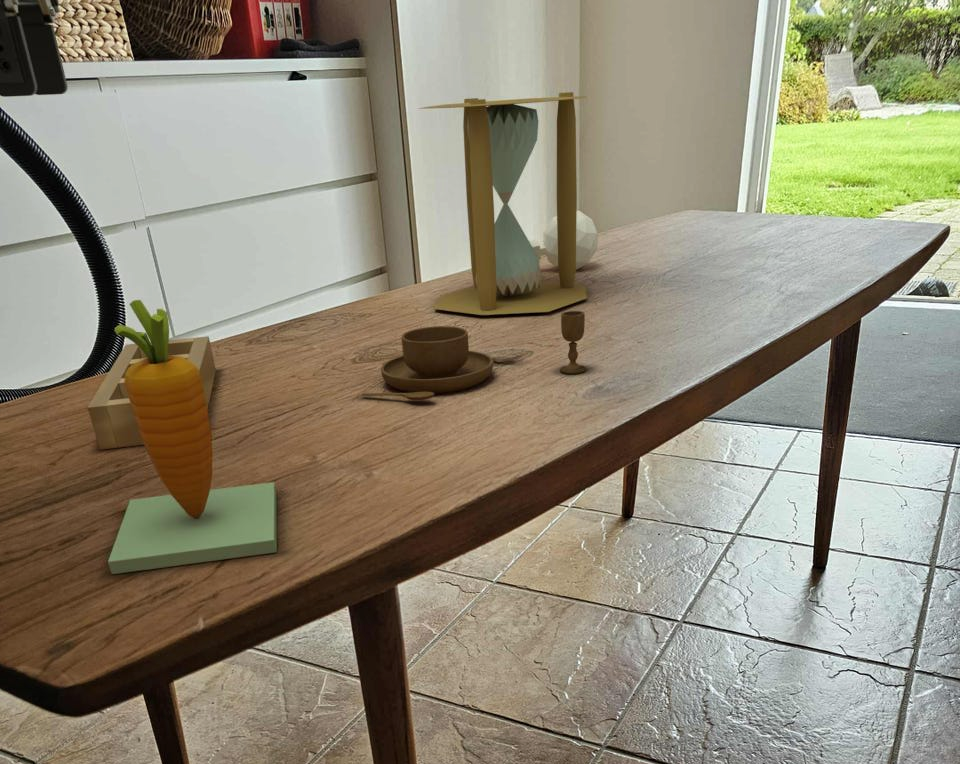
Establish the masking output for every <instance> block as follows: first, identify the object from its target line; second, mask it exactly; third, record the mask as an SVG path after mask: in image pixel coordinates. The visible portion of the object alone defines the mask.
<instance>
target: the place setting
mask: <svg viewBox="0 0 960 764" xmlns="http://www.w3.org/2000/svg"><path fill="white" fill-rule="evenodd" d="M585 315H586V314H585V311H581V310H568V311H563V312H561V314H560V329H561V335H562V338H563V339H564V340H565V341H567V342H569V343H568V347H569V350H568V353H567V358H568V360H569V363H568V364H567V365H563V366H561V367H559V372H560V373H561V374H567V375H578V374H582V373H585V372H586V371H587V368H586V366H584V365H581V364H578V363H577V360H578V357H579V352H578V351H577V346H578V343H577V342H578V341H580V340H582V339H583V337H584V334H585V325H586V323H585V322H586V321H585V320H586V317H585ZM400 338H401V346H402V355H400V356H396V357H393V358H390V359H389V360H387V361H385V362H384V363H383V364H382V365H381V367H380V373H381V376H382V379H383V380H384V382H385V383H386V384H388V385H389V386H391V387H392V388H395V389H397V390H400V391H403V392H365V393H362V394H361V393H360V394H361V396H364V397H365V396H366V397H367V396H368V397H373V396H374V397H378V396H379V397H380V396H381V397H382V396H394V397H395V396H397V397H398V396H399V397H404V398H406V399H407V400H410V401H425V400H430V399H431V398H433V397H434V396H435V394H445V393H453V392H457V391H464V390H466V389H470V388H472V387H474V386H477V385H478V384H480V383H481V382H484V381H485V380H486V379H487V378H488V377H489V376H490V375H491V373H492V371H493V368H494V361H495V362H496V363H507V362H510V361H514V360H517V359H519V358H521V357H523V354H520V355H515V356H511V357H507V358H497V357H493V356H490V355H489V354H487V353H483V352H480V351H474V350H470V349H469V346H470V345H469V331H468V330H467V329H465V328H464V327H459V326H451V325H438V326H437V325H434V326H426V327H419V328H415V329H411V330H408V331H406V332H404V333H403V334H402V335H401V336H400Z"/></svg>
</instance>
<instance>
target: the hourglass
mask: <svg viewBox="0 0 960 764" xmlns="http://www.w3.org/2000/svg"><path fill="white" fill-rule="evenodd" d="M586 98H588V96H583V95H582V96H575V95H574V92H573V91H568V92H559V93H558V96H556V97H555V96H554V97H531V98H516V99H514V98H513V99H503V100H502V99H500V100H487V101H486V98H482V99H481V98H480V99H479V98H478V97H474V98H464V99H463V102H462V103H461V102H459V103H449V104H447V103H446V104H438V105H431V106H424V107H420V108H417V109H418V110H421V109H422V110H424V109H453V108H463V123H462V128H463V129H462V130H463V150H464V169H465V170H464V171H465V172H464V173H465V191H466V193H465V194H466V209H467V211H466V212H467V224H468V237H469V239H468V240H469V251H470V266H471V274H472V281H473V285H471V286H467V287H464V288H461V289H458V290H454V291H451V292H447V293H443V294H441V295H439V297H438V299H437V301H436V303H435V305H434V307H433V310H440V311H445V312H446V311H447V312H453V313H454V312H455V313H462V314H471V315H477V316H478V315H479V316H491V315H492V316H493V315H509V314H529V313H530V314H531V313H550V312H552V311H555V310H557V309H561V308H563V307H566V306H569V305H572V304H574V303H578V302H580V301H584V300H586V299H588V295H587V290H586V285H585V284H576V283H575V280H576V272H577V270H576V214H577V211H578V210H577V206H578V205H577V204H578V202H577V201H578V197H577V196H578V195H577V194H578V192H577V190H578V189H577V188H578V187H577V185H578V184H577V117H576V108H575V100H577V99H586ZM557 101H558V102H557ZM545 102H557V114H556V216H557V236H558V267H557V268H558V279H559V282H553V281H542V271H541V266H540V260H539V259H538V257H537V255H536V253H535V251H534V249H533V247H532V246H531V244H530V242H529V241H530V240H529V239H528V237H527V235H526V233H525V232H524V230H523V228H522V226H521V225H520V223H519V221H518V219H517V218H516V216H515V214H514V213H513V211H512V209H511V208H510V205H509V201H510V200H511V198H512V196H513V194H514V191H515V189H516V187H517V185H518V182H519V181H520V178H521V176H522V174H523V172H524V170H525V167H526V166H527V164H528V161H529V160H530V157H531V155H532V152H533V151H534V149H535V146H536V143H537V141H538V132H539V117H538V111H537V110H538V109H536V108H532V107H528V106H524V105H522V104H534V103H535V104H536V103H545ZM519 104H521V105H519ZM494 190H495V192H496V194H497V195H498V197H499V200H500V201H501V202H502V207H501V209H500V211H499V213H498V215H497V217H496V220H495V203H494V202H495V201H494Z"/></svg>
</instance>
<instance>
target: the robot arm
mask: <svg viewBox="0 0 960 764" xmlns="http://www.w3.org/2000/svg"><path fill="white" fill-rule="evenodd" d="M59 7H60V4H59V0H0V97H6V98H7V97H9V98H11V97H29V96H30V97H31V96H34V95H36V96H49V95H50V96H52V95H53V96H54V95H64V94H65V93H67V91H68V81H67V78H66V74H65V70H64V69H65V68H64V65H63V61H62V58H61V52H60V48H59V45H58V40H57V37H56V36H57V35H56V32H55V28H54V25H53V24H56V17H57V14H58V13H59Z"/></svg>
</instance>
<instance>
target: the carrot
mask: <svg viewBox="0 0 960 764" xmlns="http://www.w3.org/2000/svg"><path fill="white" fill-rule="evenodd" d="M129 306H130V307H131V310H132V311H133V313H134V314H135V316H136V318H137V320H138V322H139V323H140V325H141V327H142V328H143V329H144V331H145V332H143V331H136V330H135V329H134V328H132V327H129V326H126V325H123V324H119V325H117V326H116V327H114V332H115V334H116V335H117V336H121V337H123V338H126V339H128V340H130V341H131V342H132V343H133V344H136V345H138V346H139V347H140V348H141V349H142V351H143V352H144V353H145V355H146V356H147V358H146V359H143V360H141V361H139V362H137V363H135V364H133V365H132V366H131V367H129V368H128V370H127V371H126V373H125V386H126V389H127V393H128V396H129V399H130V403H131V406H132V410H133V413H134V416H135V419H136V422H137V425H138V428H139V431H140V434H141V437H142V440H143V443H144V445H143V446H144V447H145V449H146V451H147V453H148V454H147V455H148V456H149V459H150V460H151V462H152V464H153V466H154V468H155V471H156V473H157V474H158V477H159V478H160V481H161V482H162V484H163V485H164V486H165V488H166V489H167V491H168V492H169V494H170V495H172V496H173V498H174V499H175V500H176V501H177V502H178V503H179V505H180V506H181V507H182V508H183V509H184V510H185V511H186V513H187V514H188V515H189V516H191V517H193V518H195V519H198V518H199V517H200V516H201V514H202V513H203V512H204V509H205V506H206V502H207V499H208V496H209V492H210V490H211V485H212V479H213V443H212V442H213V441H212V440H213V439H212V429H211V428H212V427H211V422H210V416H209V409H208V410H207V404H206V399H205V394H204V388H203V383H202V378H201V375H200V372H199V370H198V368H197V367H196V366H195V365H194V364H192V363H191V362H190V361H188V360H187V359H185V358H184V357H181V356H168V342H169V340H170V324H169V323H170V322H169V317H168V312H167V311H166V310H164V309H163V308H157V309H156V313H153V314H152V315H151V314H150V312H149V310H148V309H147V307H146V306H145V305H144V303H143V301H142V300H141V299H133V301H131V302H130V303H129ZM150 342H151V343H150ZM151 344H152V345H151Z"/></svg>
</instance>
